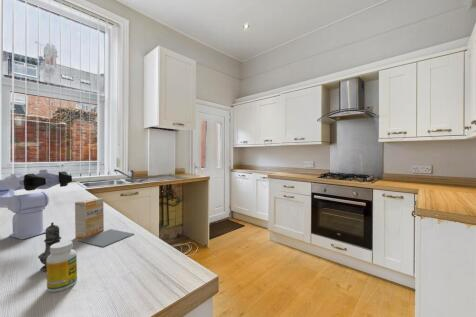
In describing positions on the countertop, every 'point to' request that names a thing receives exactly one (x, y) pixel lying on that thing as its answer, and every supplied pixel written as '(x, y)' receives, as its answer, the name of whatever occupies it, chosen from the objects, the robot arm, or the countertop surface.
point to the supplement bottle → (61, 266)
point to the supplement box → (89, 217)
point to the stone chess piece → (49, 243)
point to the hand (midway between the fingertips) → (58, 179)
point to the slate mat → (106, 238)
